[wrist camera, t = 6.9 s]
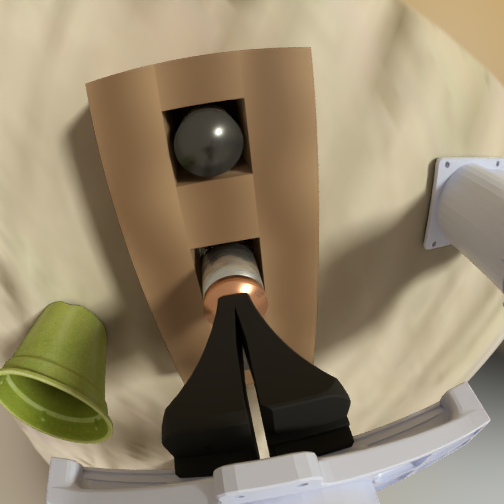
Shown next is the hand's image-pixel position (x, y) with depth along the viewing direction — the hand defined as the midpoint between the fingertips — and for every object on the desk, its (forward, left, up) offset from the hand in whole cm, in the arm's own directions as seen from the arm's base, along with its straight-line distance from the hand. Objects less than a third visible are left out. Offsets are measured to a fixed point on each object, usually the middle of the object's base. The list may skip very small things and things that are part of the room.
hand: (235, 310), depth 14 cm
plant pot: (+14, +6, -7) cm, 17 cm away
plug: (0, -7, -6) cm, 9 cm away
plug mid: (0, 0, -4) cm, 4 cm away
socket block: (0, 0, -7) cm, 7 cm away
